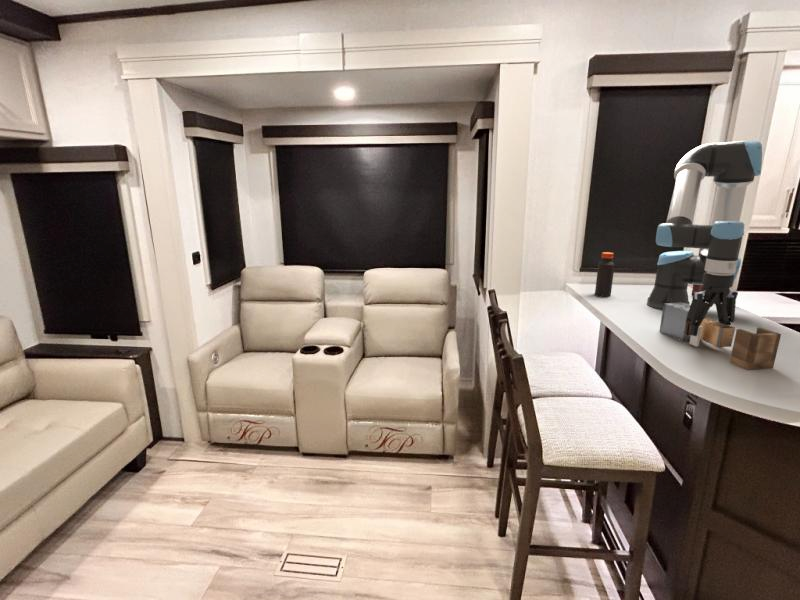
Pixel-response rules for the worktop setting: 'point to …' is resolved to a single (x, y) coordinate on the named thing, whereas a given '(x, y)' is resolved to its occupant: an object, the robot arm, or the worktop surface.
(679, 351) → the worktop surface
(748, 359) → the brown wooden box
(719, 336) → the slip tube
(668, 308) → the sleeve
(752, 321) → the worktop surface
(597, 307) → the worktop surface
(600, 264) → the bottle
